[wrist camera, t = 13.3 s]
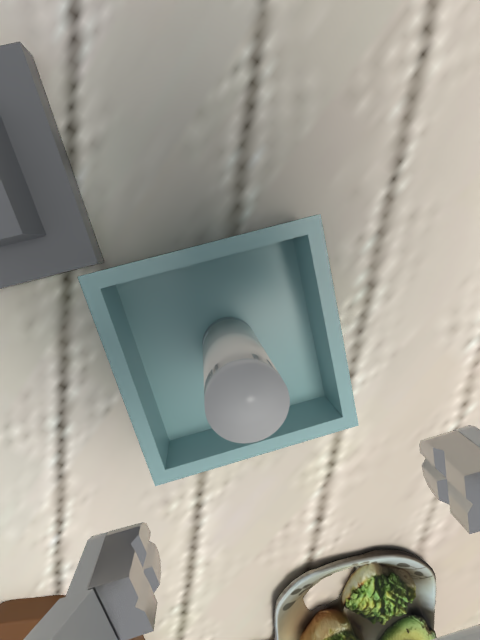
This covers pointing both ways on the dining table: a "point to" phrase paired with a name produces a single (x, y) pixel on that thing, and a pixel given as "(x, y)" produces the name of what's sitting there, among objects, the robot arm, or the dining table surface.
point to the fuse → (241, 384)
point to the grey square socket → (36, 182)
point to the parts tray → (193, 320)
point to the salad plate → (363, 601)
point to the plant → (26, 616)
